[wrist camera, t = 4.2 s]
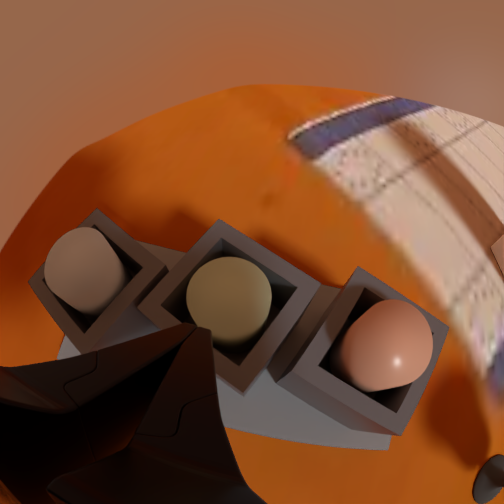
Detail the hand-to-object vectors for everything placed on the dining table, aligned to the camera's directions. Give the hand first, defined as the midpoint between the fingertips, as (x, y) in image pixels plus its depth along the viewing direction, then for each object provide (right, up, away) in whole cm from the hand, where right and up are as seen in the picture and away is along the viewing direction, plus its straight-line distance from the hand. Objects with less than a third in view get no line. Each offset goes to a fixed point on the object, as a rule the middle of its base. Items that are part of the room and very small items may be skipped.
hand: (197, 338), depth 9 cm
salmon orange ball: (+7, -3, +5) cm, 10 cm away
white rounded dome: (-7, 0, +7) cm, 10 cm away
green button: (+1, -1, +8) cm, 8 cm away
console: (0, -4, +11) cm, 12 cm away
